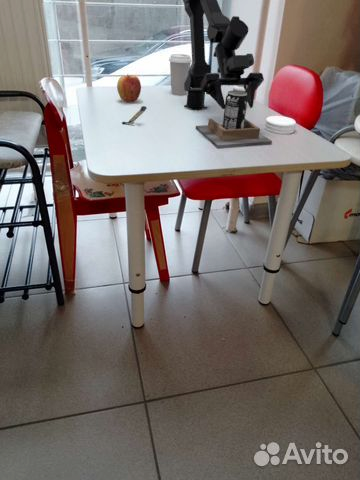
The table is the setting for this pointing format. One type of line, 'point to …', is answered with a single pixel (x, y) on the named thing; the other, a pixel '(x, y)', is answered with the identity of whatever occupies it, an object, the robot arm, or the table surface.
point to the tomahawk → (135, 116)
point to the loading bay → (233, 135)
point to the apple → (129, 88)
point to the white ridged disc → (280, 124)
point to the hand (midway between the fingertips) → (238, 107)
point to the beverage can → (235, 110)
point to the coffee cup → (179, 72)
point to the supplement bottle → (238, 88)
